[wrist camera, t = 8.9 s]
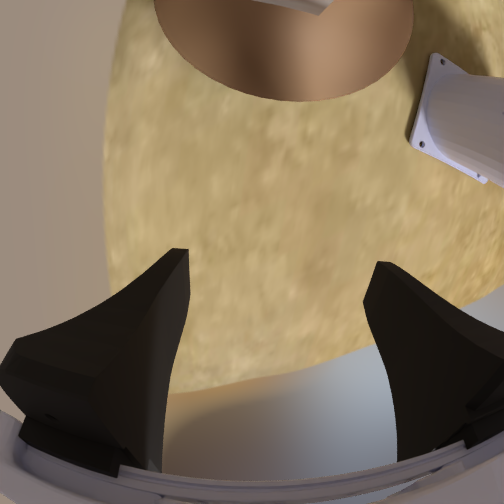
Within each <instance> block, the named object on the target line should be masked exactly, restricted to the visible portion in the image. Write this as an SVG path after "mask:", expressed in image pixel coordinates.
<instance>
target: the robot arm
mask: <svg viewBox="0 0 504 504" xmlns="http://www.w3.org/2000/svg"><path fill="white" fill-rule="evenodd" d="M440 60H442V62H443V64H441V62H440ZM421 141H422V146H421V147H420V146H419V143H420V142H421ZM409 143H410V145H411V146H412V147H413V148H415V149H418V150H420V151H422V152H424V153H426V154H428V155H430V156H433V157H435V158H437V159H439V160H441V161H443V162H445V163H447V164H449V165H451V166H452V167H454V168H456V169H458V170H460V171H462V172H464V173H466V174H467V175H469V176H471V177H473V178H474V179H476V180H478V181H480V182H481V183H483V184H485V183H486V182H487V181H488V179H489V180H490V181H492V182H494V183H496V184H497V185H499V186H501V187H502V188H504V78H499V77H491V76H481V75H470V74H468V73H467V72H465V71H464V70H463V69H461V68H460V67H458V66H457V65H455V64H454V63H452V62H451V61H450V60H448V59H446V58H445V57H443V56H442V55H440V54H439V53H432V54H431V56H430V60H429V65H428V70H427V75H426V79H425V83H424V88H423V92H422V96H421V100H420V104H419V107H418V111H417V115H416V118H415V122H414V125H413V129H412V132H411V136H410V139H409ZM477 173H478V175H477ZM189 300H190V275H189V249H178V248H172V249H170V250H169V251H168V252H167V253H166V254H165V255H163V256H162V257H161V258H160V259H159V260H158V261H157V262H156V263H154V264H153V265H152V266H151V267H150V268H149V269H147V270H146V271H145V272H144V273H143V274H142V275H140V276H139V277H138V278H136V279H135V280H134V281H132V282H131V283H130V284H129V285H127V286H126V287H125V288H123V289H122V290H121V291H119V292H118V293H116V294H115V295H113V296H112V297H110V298H109V299H107V300H106V301H104V302H102V303H101V304H99V305H97V306H95V307H93V308H92V309H90V310H88V311H86V312H84V313H82V314H80V315H78V316H77V317H74V318H72V319H70V320H68V321H66V322H64V323H61V324H59V325H56V326H54V327H51V328H48V329H46V330H43V331H40V332H37V333H34V334H30V335H27V336H24V337H21V338H17V339H16V340H15V341H14V343H13V344H12V346H11V348H10V349H9V351H8V353H7V354H6V356H5V358H4V360H3V361H2V363H1V365H0V386H1V387H2V389H3V390H4V391H5V393H6V394H7V395H8V396H9V397H10V399H11V400H12V401H13V402H14V403H15V404H16V406H17V407H18V408H19V409H20V410H21V411H22V412H23V413H24V414H25V415H26V417H25V419H24V422H23V423H21V422H20V421H18V420H17V419H16V418H14V417H12V416H11V415H9V414H7V413H5V412H3V411H1V410H0V493H2V494H3V495H4V496H6V497H7V498H9V499H10V500H12V501H13V502H15V503H16V504H191V503H197V504H306V503H315V502H322V501H329V500H335V499H341V498H346V497H351V496H357V495H361V494H366V493H370V492H374V491H378V490H382V489H386V488H389V487H393V486H396V485H399V484H402V483H406V482H409V481H412V480H415V479H417V478H420V477H423V476H426V475H429V474H431V473H432V474H431V475H429V476H426V477H424V478H422V479H419V480H418V481H416V482H415V483H413V484H412V485H410V486H409V487H407V488H405V489H403V490H401V491H399V492H397V493H395V494H392V495H390V496H388V497H387V498H386V499H384V500H380V501H376V502H373V503H368V504H504V332H503V331H500V330H498V329H496V328H493V327H491V326H489V325H487V324H485V323H483V322H481V321H479V320H477V319H475V318H473V317H472V316H469V315H468V314H466V313H465V312H463V311H461V310H460V309H458V308H456V307H455V306H453V305H452V304H450V303H449V302H447V301H446V300H445V299H443V298H442V297H440V296H439V295H437V294H436V293H435V292H433V291H432V290H430V289H429V288H428V287H426V286H425V285H424V284H422V283H421V282H420V281H418V280H417V279H416V278H414V277H413V276H411V275H410V274H409V273H407V272H406V271H404V270H403V269H401V268H400V267H398V266H397V265H395V264H393V263H391V262H383V261H377V263H376V266H375V269H374V272H373V275H372V278H371V281H370V284H369V286H368V289H367V292H366V295H365V297H364V300H363V305H364V309H365V313H366V317H367V321H368V324H369V327H370V329H371V332H372V335H373V337H374V340H375V342H376V345H377V347H378V350H379V353H380V355H381V358H382V360H383V363H384V365H385V369H386V372H387V375H388V379H389V384H390V388H391V393H392V398H393V405H394V411H395V418H396V430H397V463H393V464H389V465H385V466H382V467H377V468H372V469H368V470H363V471H358V472H352V473H347V474H341V475H334V476H327V477H319V478H309V479H298V480H282V481H227V480H212V479H201V478H191V477H183V476H176V475H169V474H163V473H162V449H163V434H164V422H165V413H166V404H167V397H168V390H169V383H170V376H171V371H172V367H173V363H174V359H175V356H176V352H177V349H178V345H179V342H180V338H181V335H182V332H183V328H184V325H185V321H186V318H187V312H188V306H189ZM186 502H188V503H186Z"/></svg>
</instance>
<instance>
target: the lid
mask: <svg viewBox="0 0 504 504" xmlns="http://www.w3.org/2000/svg"><path fill="white" fill-rule="evenodd" d="M154 4H155V10H156V14H157V17H158V21H159V23H160V25H161V27H162V30H163V32H164V34H165V35H166V37H167V38H168V40H169V41H170V43H171V44H172V46H173V47H174V48H175V49H176V50H177V51H178V52H179V54H180V55H181V56H182V57H183V58H184V59H185V60H187V61H188V62H189V63H190V64H191V65H193V66H194V67H195V68H196V69H197V70H199V71H201V72H202V73H204V74H205V75H207V76H208V77H210V78H211V79H213V80H215V81H217V82H219V83H221V84H223V85H225V86H227V87H230V88H232V89H235V90H238V91H240V92H243V93H246V94H250V95H254V96H258V97H261V98H267V99H274V100H280V101H296V102H303V101H320V100H326V99H333V98H337V97H341V96H345V95H348V94H351V93H354V92H356V91H359V90H361V89H364V88H366V87H367V86H369V85H371V84H373V83H374V82H376V81H378V80H379V79H380V78H381V77H383V76H384V75H385V74H387V73H388V72H389V71H390V70H391V69H392V68H393V67H394V65H395V64H396V63H397V62H398V61H399V59H400V58H401V56H402V55H403V53H404V52H405V49H406V47H407V45H408V43H409V41H410V37H411V33H412V29H413V20H414V10H413V1H412V0H154Z"/></svg>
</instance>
